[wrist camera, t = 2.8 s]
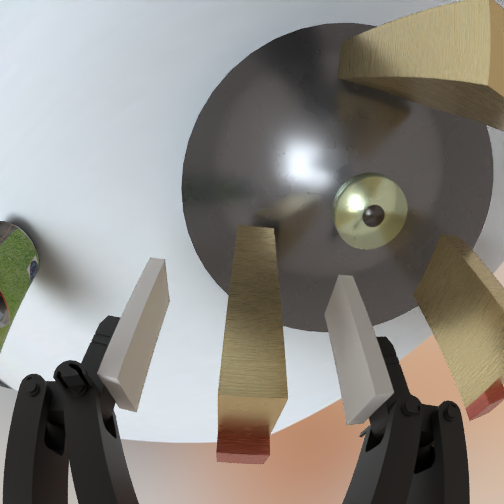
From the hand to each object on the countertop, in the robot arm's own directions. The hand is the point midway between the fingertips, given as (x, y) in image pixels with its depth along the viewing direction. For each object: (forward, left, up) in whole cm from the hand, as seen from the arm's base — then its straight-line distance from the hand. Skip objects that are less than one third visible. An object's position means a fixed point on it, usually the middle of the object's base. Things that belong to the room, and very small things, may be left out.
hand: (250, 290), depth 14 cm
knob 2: (-11, +5, -2) cm, 12 cm away
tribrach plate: (-4, +6, -4) cm, 8 cm away
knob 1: (0, 0, -2) cm, 2 cm away
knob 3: (-1, +12, -2) cm, 12 cm away
